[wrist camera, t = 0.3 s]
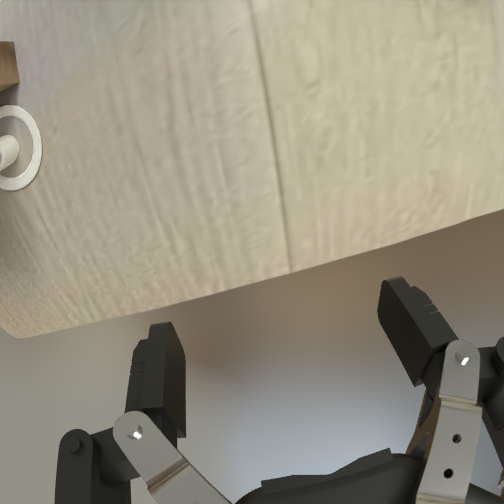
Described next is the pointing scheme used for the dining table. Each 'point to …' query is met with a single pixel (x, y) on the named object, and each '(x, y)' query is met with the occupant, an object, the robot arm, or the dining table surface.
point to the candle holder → (7, 149)
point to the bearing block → (8, 66)
